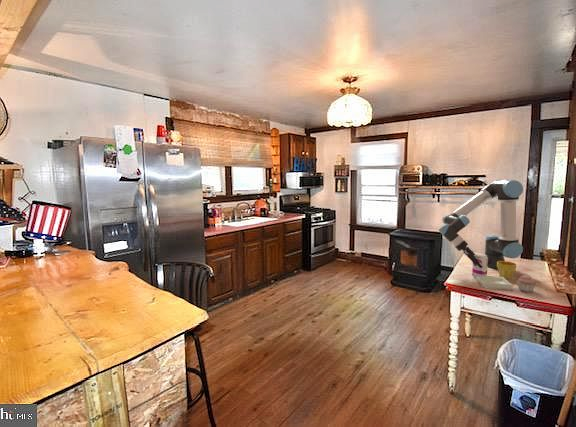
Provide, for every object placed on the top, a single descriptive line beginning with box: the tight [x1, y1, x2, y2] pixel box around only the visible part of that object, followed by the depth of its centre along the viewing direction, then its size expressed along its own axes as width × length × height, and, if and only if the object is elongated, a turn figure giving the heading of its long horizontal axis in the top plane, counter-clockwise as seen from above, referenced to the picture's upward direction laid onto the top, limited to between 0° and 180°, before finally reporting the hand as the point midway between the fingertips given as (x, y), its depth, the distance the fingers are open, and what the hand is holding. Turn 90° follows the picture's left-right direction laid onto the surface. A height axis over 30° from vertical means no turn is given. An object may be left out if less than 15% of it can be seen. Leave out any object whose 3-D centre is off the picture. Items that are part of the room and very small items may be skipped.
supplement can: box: [471, 253, 488, 279], centre depth 197 cm, size 8×8×15 cm
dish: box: [476, 275, 513, 291], centre depth 183 cm, size 15×15×3 cm
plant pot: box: [497, 260, 517, 280], centre depth 195 cm, size 10×10×10 cm
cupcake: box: [515, 273, 537, 293], centre depth 172 cm, size 9×9×10 cm
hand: (485, 269), depth 195 cm, fingers closed on supplement can, 8 cm apart
